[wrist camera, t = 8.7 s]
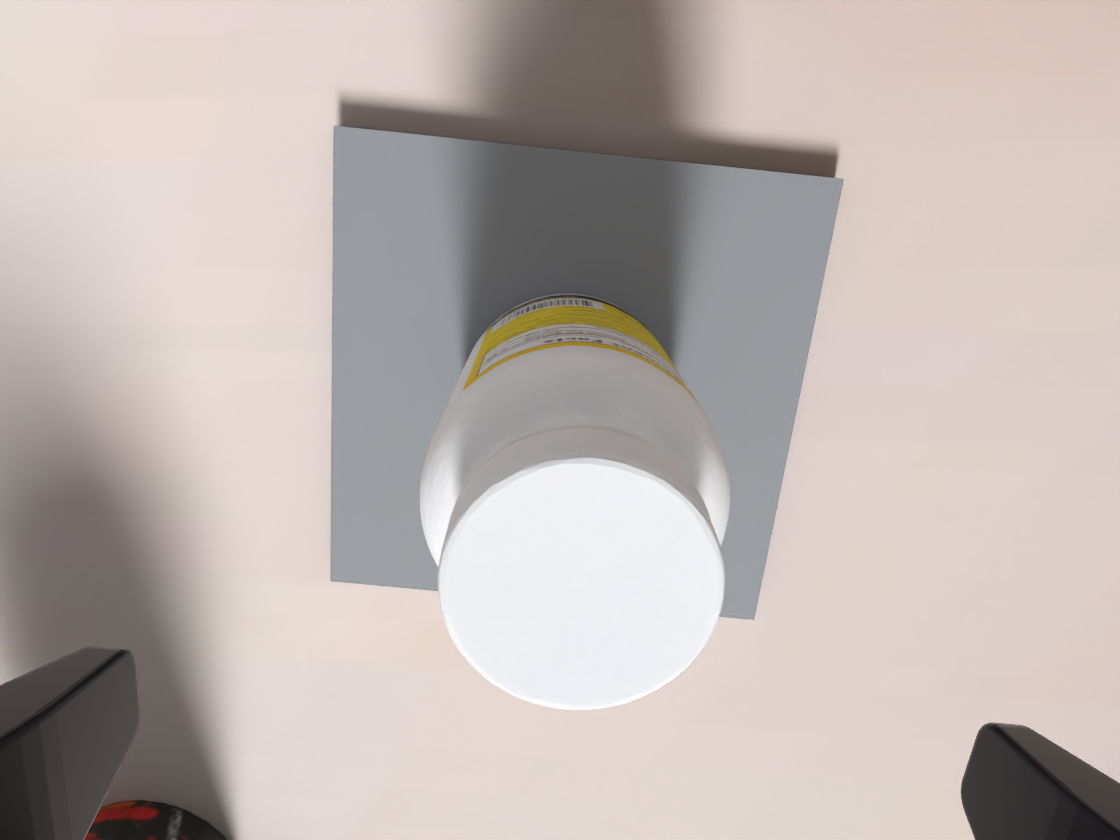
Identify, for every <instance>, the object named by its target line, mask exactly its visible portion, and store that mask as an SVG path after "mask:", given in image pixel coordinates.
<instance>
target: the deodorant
mask: <svg viewBox="0 0 1120 840" xmlns="http://www.w3.org/2000/svg"><path fill="white" fill-rule="evenodd" d="M84 840H226V839H225V838H224V836H222V835H221V834H220V833H219V832H218V831H217V830H215V829H214V828H213V827H212V826H211V825H210V824H208V823H207V822H206V821H204V820H202V819H200V818H198V817H197V816H195V815H193V814H191V813H189V812H187V811H185V810H182V809H179V808H176V807H173V806H169V805H166V804H163V803H155V802H145V801H131V802H122V803H114V804H111V805H109V806H106V807H103V808H101V809H99V811H98V813H97V815H96V817H95V819H94V821H93V823H92V825H91V827H90V829H89V831H88V833H87V835H86V837H85V839H84Z"/></svg>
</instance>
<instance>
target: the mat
mask: <svg viewBox="0 0 1120 840" xmlns="http://www.w3.org/2000/svg"><path fill="white" fill-rule="evenodd" d="M843 180H844V179H840V178H831V177H821V176H812V175H802V174H792V173H783V172H773V171H764V170H754V169H745V168H735V167H725V166H716V165H706V164H697V163H687V162H678V161H668V160H658V159H649V158H639V157H630V156H620V155H610V154H601V153H591V152H582V151H572V150H563V149H553V148H543V147H534V146H524V145H515V144H505V143H496V142H486V141H476V140H467V139H457V138H448V137H438V136H429V135H419V134H409V133H400V132H390V131H381V130H371V129H362V128H352V127H342V126H334V151H333V297H332V442H331V581H334V582H345V583H356V584H367V585H378V586H389V587H400V588H411V589H422V590H433V591H438V581H437V579H438V566H437V564H436V562H435V560H434V558H433V556H432V554H431V552H430V550H429V547H428V544H427V541H426V538H425V535H424V531H423V527H422V522H421V515H420V483H421V475H422V470H423V466H424V461H425V458H426V454H427V451H428V448H429V446H430V443H431V440H432V438H433V435H434V433H435V430H436V428H437V426H438V424H439V422H440V420H441V417H442V415H443V413H444V410H445V408H446V406H447V404H448V402H449V399H450V397H451V395H452V393H453V390H454V388H455V386H456V383H457V381H458V379H459V377H460V375H461V372H462V370H463V368H464V366H465V364H466V362H467V360H468V358H469V356H470V354H471V352H472V350H473V348H474V346H475V345H476V343H477V341H478V340H479V339H480V337H481V336H482V335H483V334H484V332H485V331H486V330H487V329H488V328H489V327H490V326H491V325H492V324H493V323H494V322H495V321H496V320H497V319H498V318H499V317H501V316H502V315H504V314H505V313H507V312H508V311H509V310H511V309H513V308H514V307H516V306H518V305H520V304H522V303H525V302H527V301H530V300H532V299H536V298H539V297H543V296H547V295H554V294H581V295H587V296H592V297H596V298H599V299H602V300H605V301H608V302H610V303H612V304H614V305H616V306H618V307H620V308H622V309H624V310H625V311H627V312H629V313H630V314H631V315H633V316H634V317H635V318H637V319H638V320H639V321H640V322H641V323H643V324H644V325H645V326H646V327H647V328H648V330H649V331H650V332H651V333H652V335H653V336H654V337H655V338H656V339H657V341H658V342H659V344H660V345H661V346H662V348H663V349H664V351H665V352H666V354H667V355H668V357H669V358H670V360H671V362H672V363H673V365H674V366H675V368H676V369H677V371H678V372H679V374H680V375H681V377H682V378H683V380H684V381H685V383H686V385H687V386H688V388H689V389H690V391H691V392H692V394H693V395H694V397H695V398H696V400H697V402H698V403H699V405H700V406H701V408H702V409H703V411H704V412H705V414H706V416H707V417H708V419H709V421H710V423H711V425H712V427H713V429H714V431H715V434H716V436H717V438H718V440H719V443H720V445H721V448H722V451H723V454H724V457H725V460H726V465H727V470H728V475H729V483H730V507H729V517H728V522H727V527H726V531H725V534H724V538H723V542H722V544H721V550H722V554H723V559H724V566H725V588H724V599H723V603H722V608H721V612H720V615H719V617H730V618H741V619H752V620H754V617H755V612H756V608H757V603H758V598H759V593H760V588H761V583H762V578H763V573H764V568H765V563H766V558H767V553H768V549H769V544H770V539H771V534H772V529H773V524H774V519H775V514H776V509H777V504H778V499H779V495H780V490H781V485H782V480H783V475H784V470H785V465H786V460H787V455H788V450H789V445H790V440H791V436H792V431H793V426H794V421H795V416H796V411H797V406H798V401H799V396H800V391H801V386H802V382H803V377H804V372H805V367H806V362H807V357H808V352H809V347H810V342H811V337H812V332H813V327H814V323H815V318H816V313H817V308H818V303H819V298H820V293H821V288H822V283H823V278H824V273H825V269H826V264H827V259H828V254H829V249H830V244H831V239H832V234H833V229H834V224H835V219H836V214H837V210H838V205H839V200H840V195H841V190H842V185H843Z"/></svg>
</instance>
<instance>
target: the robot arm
mask: <svg viewBox="0 0 1120 840" xmlns="http://www.w3.org/2000/svg"><path fill="white" fill-rule="evenodd" d="M139 723H140V701H139V689H138V678H137V666H136V660H135V656H134V654H133V653H132V652H131V651H130V650H129V649H127V648H120V647H108V646H87V647H85V648H82V649H80V650H78V651H76V652H73V653H71V654H69V655H67V656H65V657H62V658H60V659H58V660H56V661H53V662H51V663H49V664H47V665H44V666H42V667H40V668H38V669H36V670H33V671H31V672H29V673H27V674H24V675H22V676H20V677H18V678H15V679H13V680H11V681H9V682H7V683H4V684H2V685H0V840H84V839H85V837H86V835H87V833H88V831H89V829H90V827H91V825H92V823H93V821H94V819H95V817H96V815H97V813H98V811H99V809H100V807H101V805H102V803H103V801H104V799H105V797H106V795H107V793H108V791H109V789H110V787H111V785H112V783H113V781H114V779H115V777H116V775H117V773H118V771H119V769H120V767H121V765H122V763H123V761H124V759H125V757H126V755H127V753H128V751H129V749H130V747H131V745H132V743H133V741H134V739H135V737H136V734H137V731H138V728H139ZM961 799H962V804H963V808H964V811H965V814H966V816H967V819H968V822H969V824H970V827H971V830H972V833H973V835H974V838H975V840H1120V783H1118V782H1117V781H1115V780H1113V779H1112V778H1110V777H1108V776H1107V775H1105V774H1104V773H1102V772H1100V771H1099V770H1097V769H1095V768H1094V767H1092V766H1091V765H1089V764H1087V763H1086V762H1084V761H1082V760H1081V759H1079V758H1078V757H1076V756H1074V755H1073V754H1071V753H1069V752H1068V751H1066V750H1065V749H1063V748H1061V747H1060V746H1058V745H1056V744H1055V743H1053V742H1052V741H1050V740H1048V739H1047V738H1045V737H1043V736H1042V735H1040V734H1038V733H1037V732H1035V731H1034V730H1032V729H1030V728H1028V727H1026V726H1022V725H1015V724H1003V723H988V724H985V725H983V726H982V727H981V729H980V730H979V732H978V734H977V737H976V740H975V743H974V746H973V749H972V752H971V755H970V758H969V761H968V764H967V767H966V770H965V774H964V777H963V780H962V785H961Z"/></svg>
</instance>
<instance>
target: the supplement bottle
mask: <svg viewBox="0 0 1120 840" xmlns="http://www.w3.org/2000/svg"><path fill="white" fill-rule="evenodd" d="M729 507H730V483H729V475H728V470H727V465H726V460H725V457H724V454H723V451H722V448H721V445H720V443H719V440H718V438H717V436H716V434H715V431H714V429H713V427H712V425H711V423H710V421H709V419H708V417H707V416H706V414H705V412H704V411H703V409H702V408H701V406H700V405H699V403H698V402H697V400H696V398H695V397H694V395H693V394H692V392H691V391H690V389H689V388H688V386H687V385H686V383H685V381H684V380H683V378H682V377H681V375H680V374H679V372H678V371H677V369H676V368H675V366H674V365H673V363H672V362H671V360H670V358H669V357H668V355H667V354H666V352H665V351H664V349H663V348H662V346H661V345H660V344H659V342H658V341H657V339H656V338H655V337H654V336H653V335H652V333H651V332H650V331H649V330H648V328H647V327H646V326H645V325H644V324H643V323H641V322H640V321H639V320H638V319H637V318H635V317H634V316H633V315H631V314H630V313H629V312H627V311H625V310H624V309H622V308H620V307H618V306H616V305H614V304H612V303H610V302H608V301H605V300H602V299H599V298H596V297H592V296H587V295H581V294H554V295H547V296H543V297H539V298H536V299H532V300H530V301H527V302H525V303H522V304H520V305H518V306H516V307H514V308H513V309H511V310H509V311H508V312H507V313H505V314H504V315H502V316H501V317H499V318H498V319H497V320H496V321H495V322H494V323H493V324H492V325H491V326H490V327H489V328H488V329H487V330H486V331H485V332H484V334H483V335H482V336H481V337H480V339H479V340H478V341H477V343H476V345H475V346H474V348H473V350H472V352H471V354H470V356H469V358H468V360H467V362H466V364H465V366H464V368H463V370H462V372H461V375H460V377H459V379H458V381H457V383H456V386H455V388H454V390H453V393H452V395H451V397H450V399H449V402H448V404H447V406H446V408H445V410H444V413H443V415H442V417H441V420H440V422H439V424H438V426H437V428H436V430H435V433H434V435H433V438H432V440H431V443H430V446H429V448H428V451H427V454H426V458H425V461H424V466H423V470H422V475H421V483H420V515H421V522H422V527H423V531H424V535H425V538H426V541H427V544H428V547H429V550H430V552H431V554H432V556H433V558H434V560H435V562H436V564H437V566H438V579H437V581H438V596H439V603H440V608H441V612H442V615H443V618H444V621H445V624H446V627H447V629H448V632H449V634H450V636H451V638H452V640H453V642H454V643H455V645H456V646H457V648H458V650H459V651H460V652H461V654H462V655H463V656H464V657H465V658H466V659H467V661H468V662H469V663H470V664H471V665H472V666H473V667H474V668H475V669H476V670H477V671H478V672H479V673H480V674H481V675H482V676H484V677H485V678H486V679H487V680H488V681H490V682H491V683H492V684H494V685H495V686H497V687H499V688H501V689H502V690H504V691H506V692H508V693H509V694H512V695H514V696H516V697H518V698H520V699H523V700H526V701H529V702H532V703H535V704H539V705H542V706H546V707H552V708H559V709H569V710H587V709H599V708H605V707H612V706H616V705H620V704H625V703H627V702H630V701H633V700H636V699H638V698H641V697H643V696H645V695H647V694H649V693H651V692H653V691H655V690H657V689H659V688H660V687H662V686H663V685H665V684H666V683H668V682H669V681H671V680H672V679H674V678H675V677H676V676H678V675H679V674H680V673H681V672H682V671H683V670H684V669H686V668H687V667H688V666H689V664H690V663H691V662H692V661H693V660H694V659H695V657H696V656H697V655H698V654H699V653H700V652H701V650H702V649H703V647H704V646H705V645H706V643H707V641H708V640H709V638H710V636H711V634H712V632H713V630H714V628H715V626H716V624H717V621H718V619H719V615H720V612H721V608H722V603H723V599H724V588H725V566H724V559H723V554H722V550H721V544H722V542H723V538H724V534H725V531H726V527H727V522H728V517H729Z"/></svg>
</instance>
